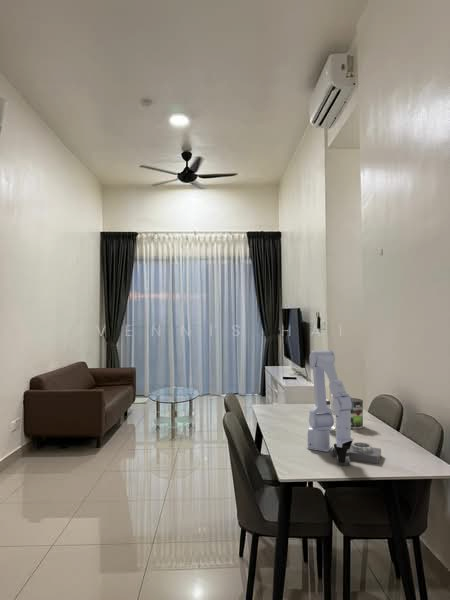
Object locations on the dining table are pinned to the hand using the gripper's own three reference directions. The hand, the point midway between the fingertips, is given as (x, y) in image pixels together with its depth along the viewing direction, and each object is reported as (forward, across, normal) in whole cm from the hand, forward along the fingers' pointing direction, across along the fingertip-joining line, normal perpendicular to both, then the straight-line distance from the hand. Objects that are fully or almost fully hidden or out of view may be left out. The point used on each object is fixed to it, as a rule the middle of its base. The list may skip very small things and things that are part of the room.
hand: (343, 460), depth 170 cm
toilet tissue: (+2, +90, +22) cm, 93 cm away
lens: (+1, 0, 0) cm, 1 cm away
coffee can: (+2, +60, +8) cm, 61 cm away
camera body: (+1, +12, -3) cm, 12 cm away
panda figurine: (+2, +50, +21) cm, 54 cm away
